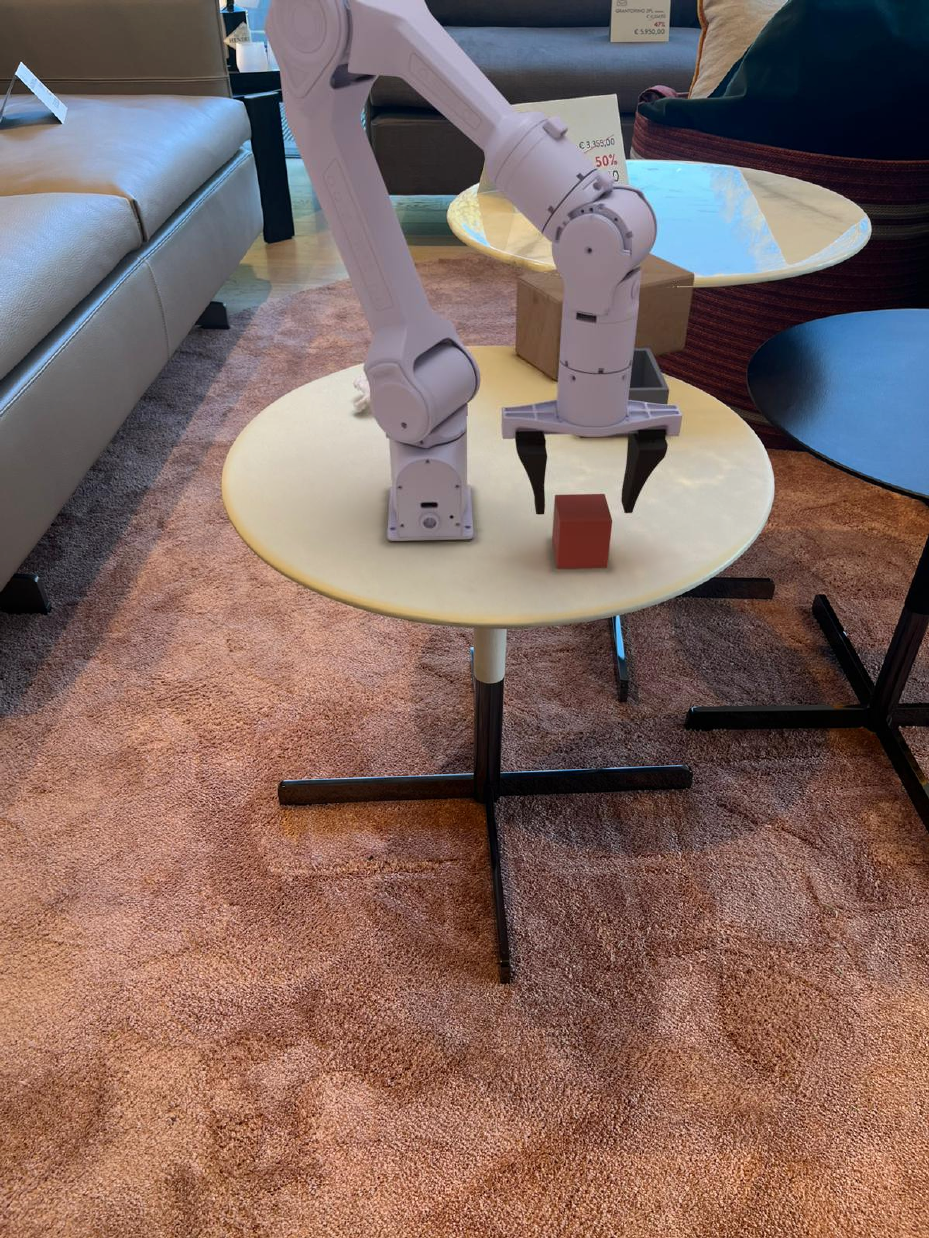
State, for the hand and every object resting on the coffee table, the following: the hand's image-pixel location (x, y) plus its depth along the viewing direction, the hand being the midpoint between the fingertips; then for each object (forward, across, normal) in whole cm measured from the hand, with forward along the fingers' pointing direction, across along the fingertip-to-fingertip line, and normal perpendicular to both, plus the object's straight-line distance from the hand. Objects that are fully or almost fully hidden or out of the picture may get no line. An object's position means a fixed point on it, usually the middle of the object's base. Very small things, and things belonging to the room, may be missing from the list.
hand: (583, 507), depth 81 cm
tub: (+5, -7, -28) cm, 29 cm away
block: (+5, 0, 0) cm, 5 cm away
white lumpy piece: (+5, +19, -31) cm, 36 cm away
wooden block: (0, +1, -41) cm, 41 cm away
